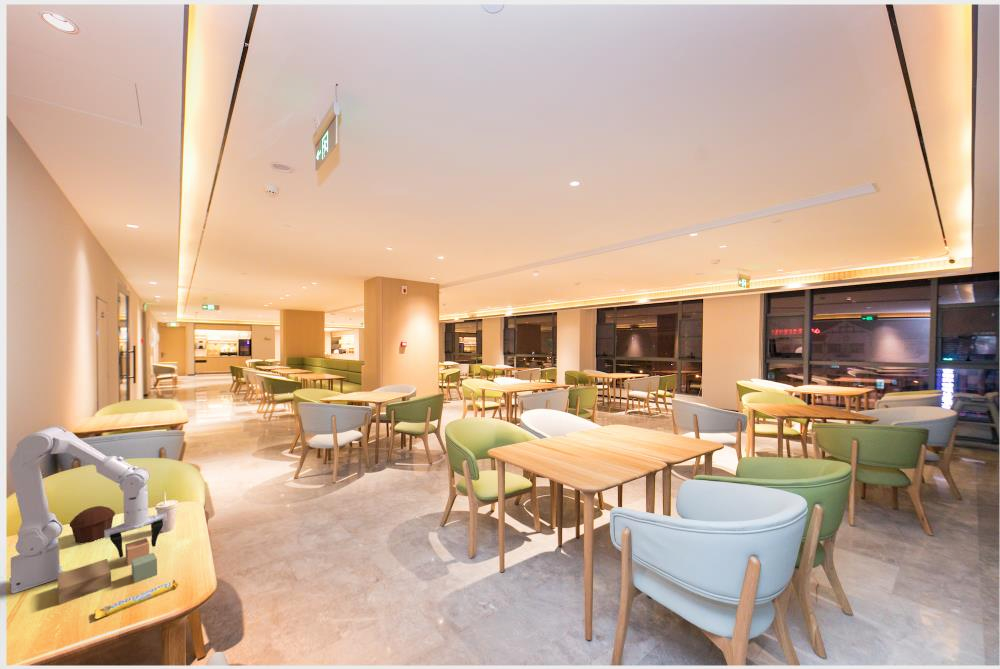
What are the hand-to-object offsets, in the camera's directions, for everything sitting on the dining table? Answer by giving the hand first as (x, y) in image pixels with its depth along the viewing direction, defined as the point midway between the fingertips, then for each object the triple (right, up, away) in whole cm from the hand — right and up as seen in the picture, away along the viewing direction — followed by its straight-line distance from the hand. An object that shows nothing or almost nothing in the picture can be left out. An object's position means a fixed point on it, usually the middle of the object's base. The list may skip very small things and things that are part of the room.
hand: (137, 550), depth 126 cm
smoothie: (-6, -3, +18) cm, 19 cm away
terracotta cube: (0, -3, 0) cm, 3 cm away
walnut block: (-3, -3, -14) cm, 14 cm away
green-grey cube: (+10, -3, -8) cm, 13 cm away
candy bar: (+18, -4, -19) cm, 26 cm away
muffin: (-28, -3, +14) cm, 31 cm away
